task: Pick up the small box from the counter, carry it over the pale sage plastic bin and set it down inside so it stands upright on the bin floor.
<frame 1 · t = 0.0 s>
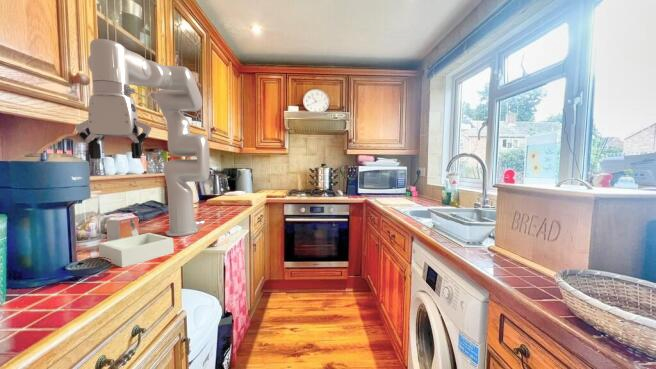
hand: (116, 158, 73), 31 cm above the worktop, tool pointing down, fingers open, 9 cm apart
storage bin: (137, 255, 90), on the worktop
small box: (124, 246, 101), on the worktop
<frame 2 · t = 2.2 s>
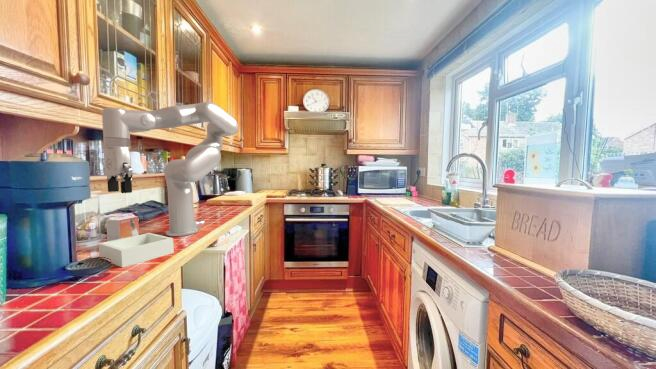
hand: (119, 192, 99), 20 cm above the worktop, tool pointing down, fingers open, 9 cm apart
nothing on the worktop moved.
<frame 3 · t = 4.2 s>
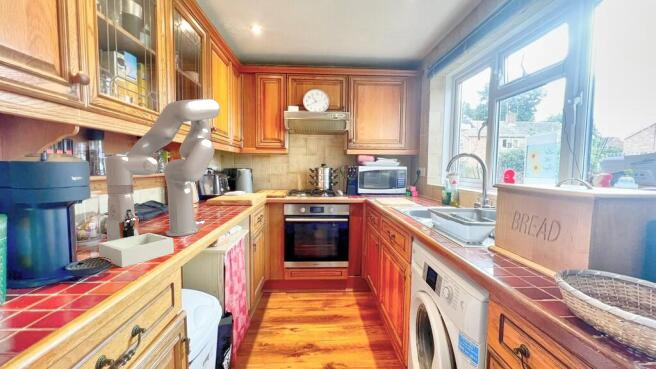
hand: (123, 238, 100), 3 cm above the worktop, tool pointing down, fingers closed on small box, 7 cm apart
small box: (124, 246, 101), on the worktop, touching gripper
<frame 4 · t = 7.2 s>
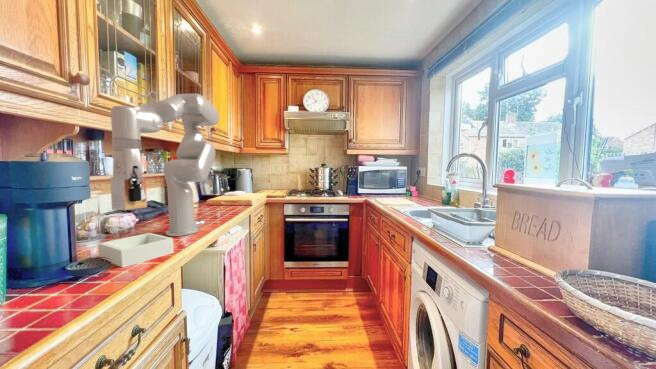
hand: (129, 199, 91), 18 cm above the worktop, tool pointing down, fingers closed on small box, 7 cm apart
small box: (130, 209, 91), point 15 cm above the worktop, touching gripper
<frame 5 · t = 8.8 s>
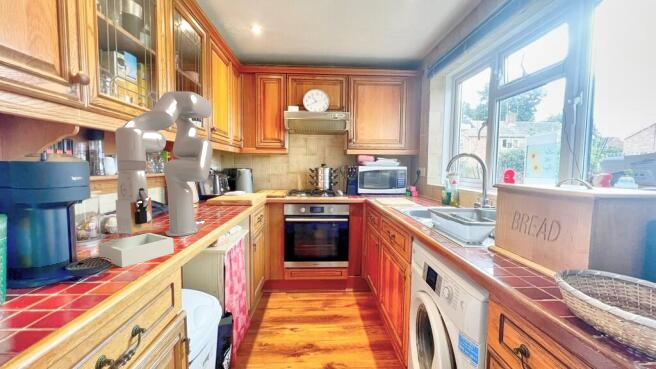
hand: (135, 222, 89), 11 cm above the worktop, tool pointing down, fingers closed on small box, 7 cm apart
small box: (135, 231, 89), point 8 cm above the worktop, touching gripper
when the fingers open (6 cm above the worktop, at t = 10.3 s): small box drops 2 cm, resting on storage bin.
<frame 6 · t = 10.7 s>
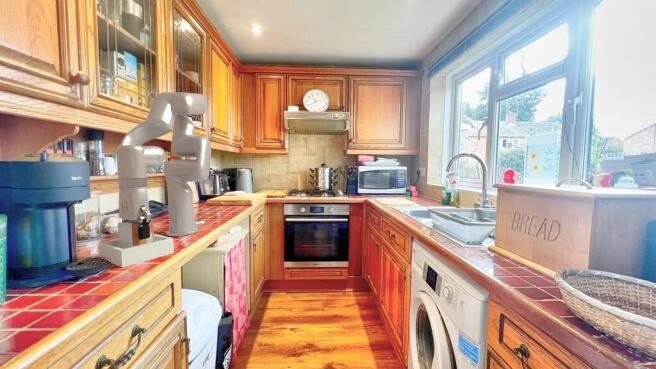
hand: (136, 236, 89), 6 cm above the worktop, tool pointing down, fingers open, 9 cm apart
small box: (137, 253, 90), point 1 cm above the worktop, touching storage bin
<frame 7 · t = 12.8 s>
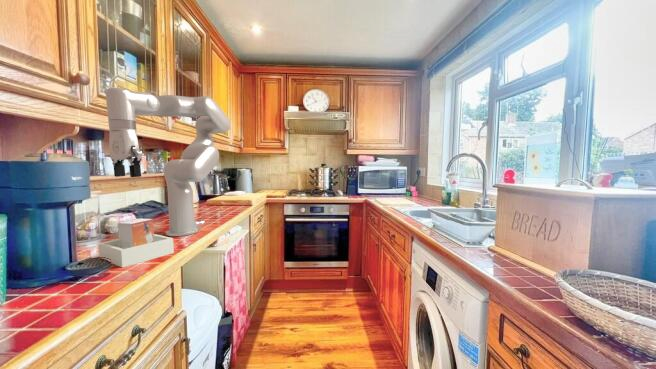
hand: (127, 176, 96), 25 cm above the worktop, tool pointing down, fingers open, 9 cm apart
nothing on the worktop moved.
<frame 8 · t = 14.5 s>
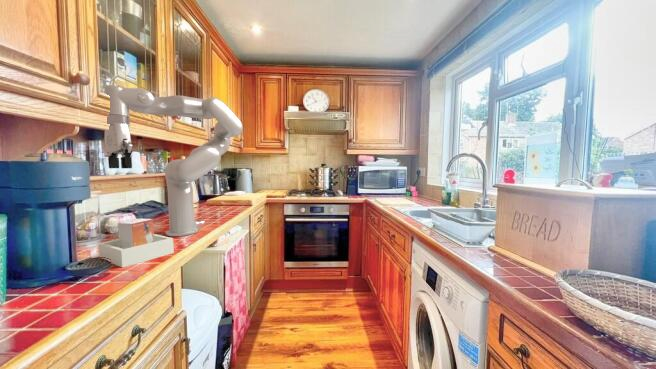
hand: (120, 168, 102), 28 cm above the worktop, tool pointing down, fingers open, 9 cm apart
nothing on the worktop moved.
at the end: small box inside the target area on the storage bin (0.1 cm from its centre), point 0.8 cm above the storage bin's base; small box tilted 0° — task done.
